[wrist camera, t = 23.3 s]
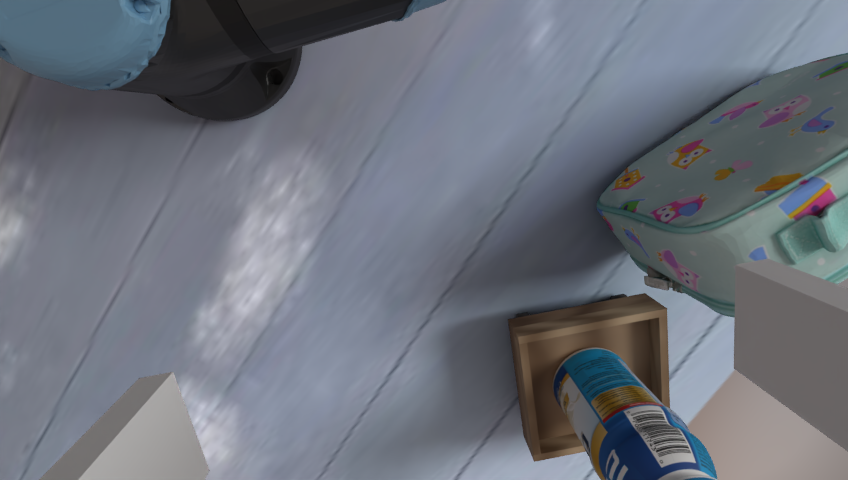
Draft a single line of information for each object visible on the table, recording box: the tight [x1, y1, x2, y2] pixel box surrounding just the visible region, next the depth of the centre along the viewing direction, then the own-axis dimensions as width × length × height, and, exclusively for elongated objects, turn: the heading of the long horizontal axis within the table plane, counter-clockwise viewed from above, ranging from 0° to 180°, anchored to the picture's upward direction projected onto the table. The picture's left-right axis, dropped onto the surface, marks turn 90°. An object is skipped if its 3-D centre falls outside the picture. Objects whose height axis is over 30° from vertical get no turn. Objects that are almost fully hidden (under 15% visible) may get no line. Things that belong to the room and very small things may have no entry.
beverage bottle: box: [553, 348, 717, 480], centre depth 38 cm, size 8×8×20 cm
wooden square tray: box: [508, 293, 670, 462], centre depth 49 cm, size 15×15×7 cm
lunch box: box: [597, 53, 848, 317], centre depth 37 cm, size 27×10×21 cm, turn 125°
